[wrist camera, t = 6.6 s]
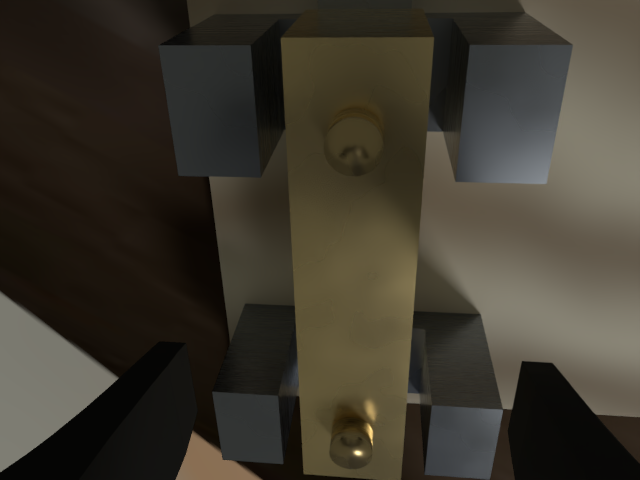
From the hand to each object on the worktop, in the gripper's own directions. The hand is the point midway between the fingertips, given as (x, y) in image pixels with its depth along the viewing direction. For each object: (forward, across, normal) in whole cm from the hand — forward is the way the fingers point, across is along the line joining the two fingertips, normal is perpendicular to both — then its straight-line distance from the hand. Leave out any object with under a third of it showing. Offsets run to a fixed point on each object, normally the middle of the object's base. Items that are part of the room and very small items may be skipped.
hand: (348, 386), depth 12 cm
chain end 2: (+8, 0, +5) cm, 9 cm away
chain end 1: (+7, 0, -5) cm, 9 cm away
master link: (+6, 0, 0) cm, 7 cm away
